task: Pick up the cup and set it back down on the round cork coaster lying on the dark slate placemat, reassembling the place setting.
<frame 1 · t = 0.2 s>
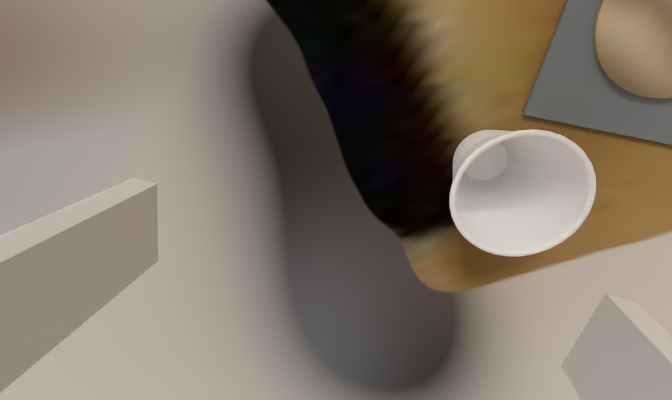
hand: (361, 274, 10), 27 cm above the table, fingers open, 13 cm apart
placemat: (660, 26, 29), on the table
cup: (483, 158, 35), on the table
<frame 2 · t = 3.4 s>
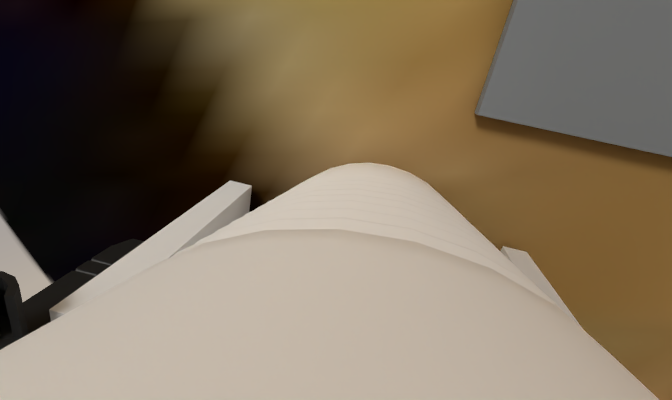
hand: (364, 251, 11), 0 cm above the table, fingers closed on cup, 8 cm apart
cup: (366, 243, 12), on the table, touching gripper
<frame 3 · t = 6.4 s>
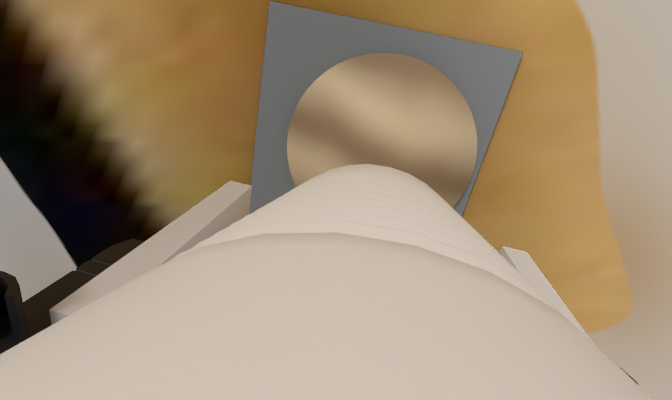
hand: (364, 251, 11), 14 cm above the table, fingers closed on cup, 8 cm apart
placemat: (361, 161, 25), on the table
cup: (366, 244, 12), point 14 cm above the table, touching gripper
coaster: (378, 152, 24), resting on placemat
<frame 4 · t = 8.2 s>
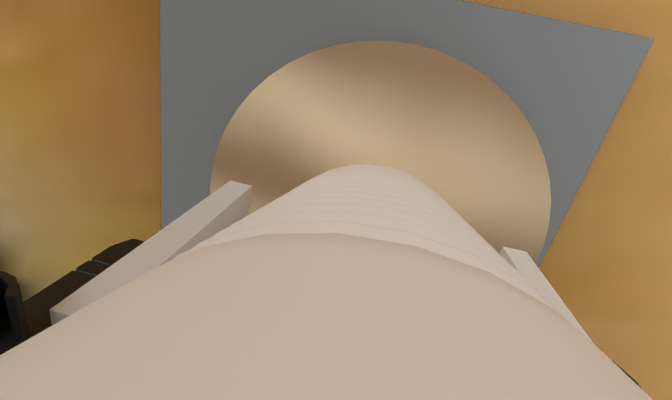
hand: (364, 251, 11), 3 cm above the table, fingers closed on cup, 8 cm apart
placemat: (341, 228, 15), on the table
cup: (366, 244, 12), point 3 cm above the table, touching gripper
coaster: (369, 217, 14), resting on placemat
when the fingers open (2 cm above the table, at t = 9.3 s): cup moves 3 cm, point 1 cm above the table.
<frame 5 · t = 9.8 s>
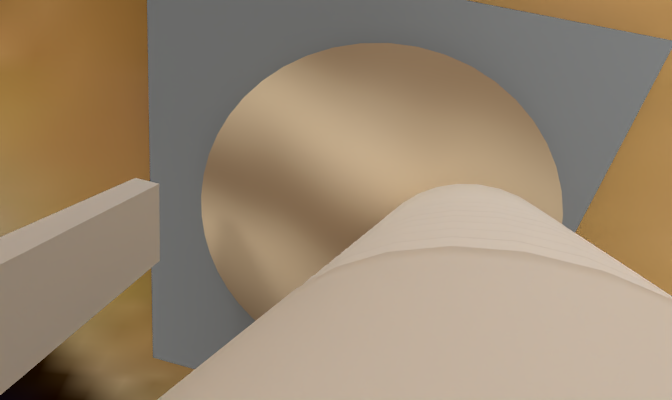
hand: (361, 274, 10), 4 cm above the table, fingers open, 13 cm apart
placemat: (339, 240, 14), on the table
cup: (462, 263, 12), point 1 cm above the table, touching gripper
coaster: (368, 229, 13), resting on placemat
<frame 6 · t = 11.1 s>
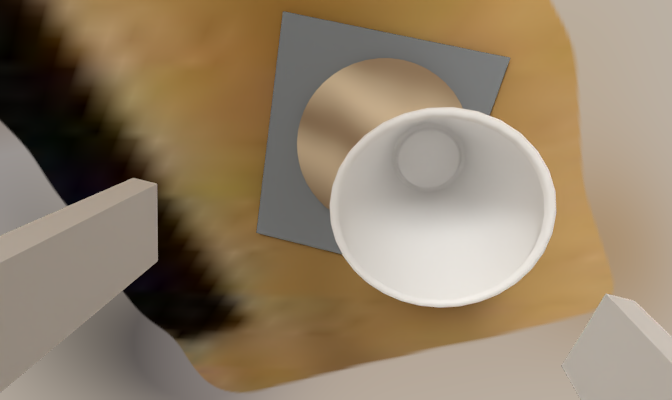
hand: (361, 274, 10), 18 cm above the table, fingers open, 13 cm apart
placemat: (365, 156, 28), on the table
cup: (427, 157, 26), point 1 cm above the table, touching coaster
coaster: (380, 148, 27), resting on placemat
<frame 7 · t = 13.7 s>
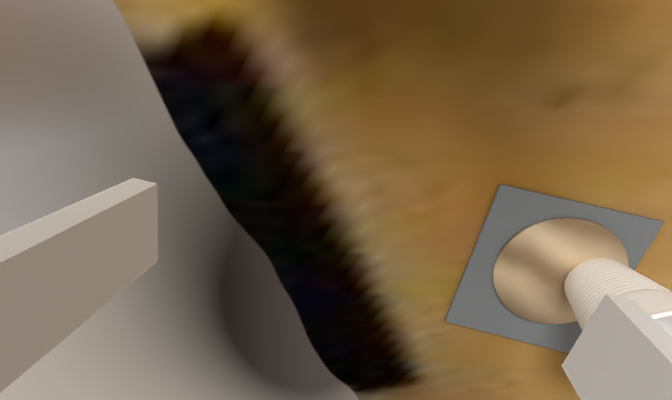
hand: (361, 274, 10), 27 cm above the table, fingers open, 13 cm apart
placemat: (541, 275, 38), on the table
cup: (593, 280, 37), point 1 cm above the table, touching coaster
coaster: (556, 272, 37), resting on placemat
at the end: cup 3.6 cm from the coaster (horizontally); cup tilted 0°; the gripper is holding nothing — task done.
